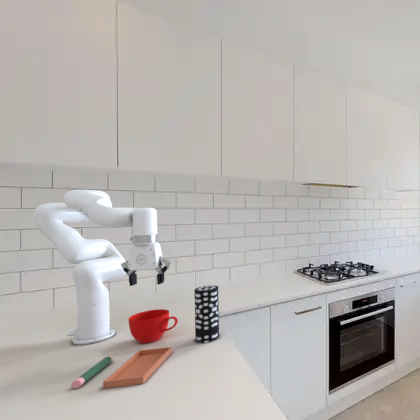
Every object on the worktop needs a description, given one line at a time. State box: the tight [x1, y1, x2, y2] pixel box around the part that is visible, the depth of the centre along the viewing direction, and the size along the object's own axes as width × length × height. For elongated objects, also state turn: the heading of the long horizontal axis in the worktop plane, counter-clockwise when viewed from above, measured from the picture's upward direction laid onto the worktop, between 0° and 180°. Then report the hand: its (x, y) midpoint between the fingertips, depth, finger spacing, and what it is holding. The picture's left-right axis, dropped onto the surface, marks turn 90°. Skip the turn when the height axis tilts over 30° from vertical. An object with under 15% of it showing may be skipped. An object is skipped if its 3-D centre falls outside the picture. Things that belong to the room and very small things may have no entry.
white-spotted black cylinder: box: [194, 285, 220, 344], centre depth 122 cm, size 8×8×20 cm
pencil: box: [70, 355, 113, 389], centre depth 97 cm, size 16×2×2 cm, turn 13°
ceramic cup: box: [128, 308, 179, 344], centre depth 122 cm, size 13×17×10 cm
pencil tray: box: [102, 346, 173, 389], centre depth 100 cm, size 10×20×2 cm, turn 13°
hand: (147, 284), depth 118 cm, fingers open, 9 cm apart
